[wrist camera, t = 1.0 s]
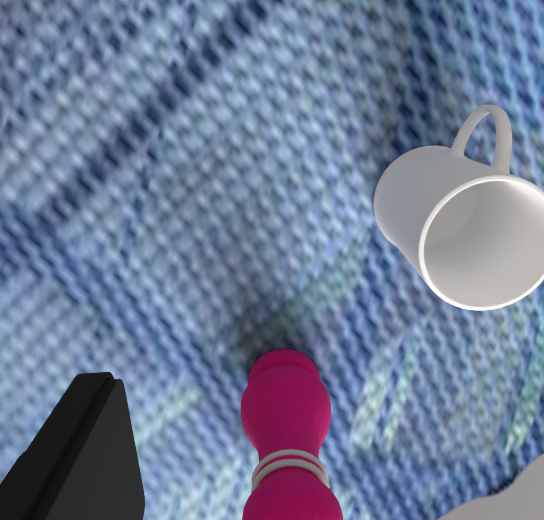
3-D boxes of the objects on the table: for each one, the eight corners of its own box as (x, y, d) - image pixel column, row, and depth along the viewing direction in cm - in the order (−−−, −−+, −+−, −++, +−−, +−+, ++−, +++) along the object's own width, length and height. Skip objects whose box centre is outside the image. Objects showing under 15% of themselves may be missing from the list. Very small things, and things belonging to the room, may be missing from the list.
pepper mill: (226, 373, 45) (197, 580, 26) (292, 327, 44) (312, 511, 25) (276, 428, 47) (282, 658, 28) (341, 385, 46) (393, 598, 27)
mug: (409, 87, 38) (470, 89, 27) (516, 119, 39) (620, 134, 27) (358, 237, 42) (393, 295, 30) (457, 263, 42) (527, 329, 31)
